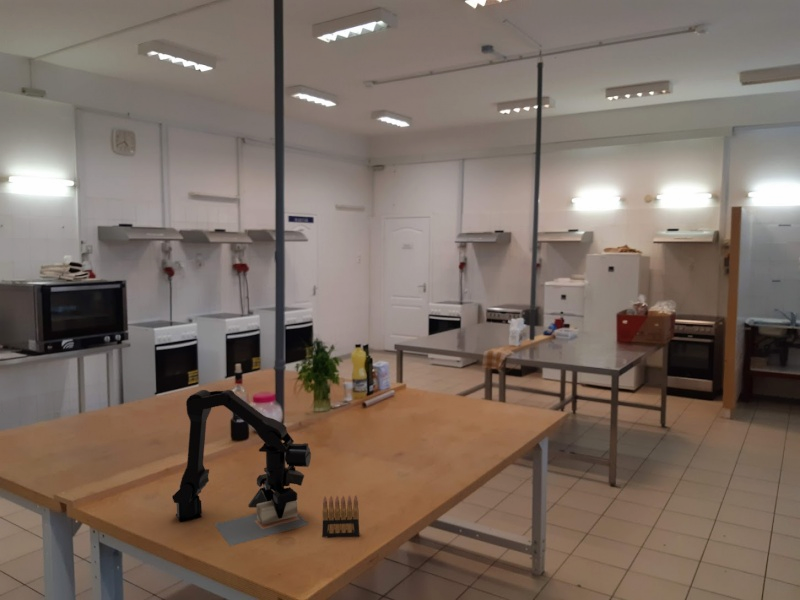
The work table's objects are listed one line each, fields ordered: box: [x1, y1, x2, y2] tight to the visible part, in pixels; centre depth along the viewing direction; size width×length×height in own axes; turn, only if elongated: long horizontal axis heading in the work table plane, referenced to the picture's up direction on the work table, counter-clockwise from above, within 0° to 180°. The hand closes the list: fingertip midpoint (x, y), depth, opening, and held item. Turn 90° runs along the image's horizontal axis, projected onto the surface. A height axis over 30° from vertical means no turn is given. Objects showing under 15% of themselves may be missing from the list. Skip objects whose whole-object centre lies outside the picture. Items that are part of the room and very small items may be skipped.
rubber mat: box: [213, 513, 310, 547], centre depth 182 cm, size 24×16×1 cm, turn 123°
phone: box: [248, 487, 267, 508], centre depth 202 cm, size 8×1×15 cm
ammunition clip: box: [321, 494, 360, 539], centre depth 175 cm, size 11×2×12 cm, turn 93°
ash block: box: [256, 500, 298, 525], centre depth 185 cm, size 5×11×4 cm, turn 123°
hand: (276, 514), depth 185 cm, fingers closed on ash block, 5 cm apart
